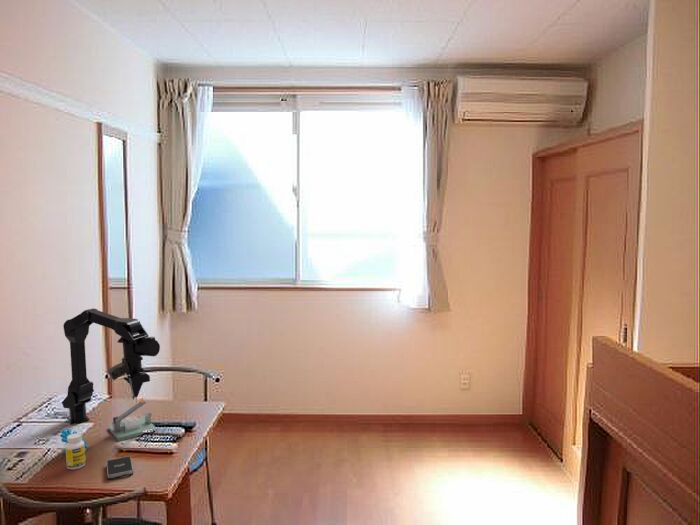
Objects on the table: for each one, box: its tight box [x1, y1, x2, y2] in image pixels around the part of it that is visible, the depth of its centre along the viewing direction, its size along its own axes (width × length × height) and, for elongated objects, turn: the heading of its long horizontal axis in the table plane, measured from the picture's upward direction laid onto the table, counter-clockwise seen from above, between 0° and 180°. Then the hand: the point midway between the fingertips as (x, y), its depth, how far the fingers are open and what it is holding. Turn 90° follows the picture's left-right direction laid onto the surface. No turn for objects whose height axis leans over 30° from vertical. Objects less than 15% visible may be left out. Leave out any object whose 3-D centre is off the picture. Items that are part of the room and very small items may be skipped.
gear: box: [59, 429, 89, 454], centre depth 182 cm, size 11×6×10 cm
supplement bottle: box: [64, 432, 87, 470], centre depth 171 cm, size 5×5×10 cm
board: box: [108, 416, 157, 442], centre depth 198 cm, size 14×13×1 cm
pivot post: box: [111, 416, 121, 432], centre depth 195 cm, size 4×2×6 cm, turn 36°
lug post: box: [144, 412, 152, 424], centre depth 201 cm, size 4×1×6 cm, turn 36°
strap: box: [116, 398, 147, 420], centre depth 197 cm, size 11×2×2 cm, turn 126°
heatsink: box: [121, 415, 140, 431], centre depth 198 cm, size 6×5×3 cm
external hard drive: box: [106, 455, 134, 481], centre depth 167 cm, size 7×11×2 cm, turn 25°
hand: (135, 396), depth 198 cm, fingers closed
